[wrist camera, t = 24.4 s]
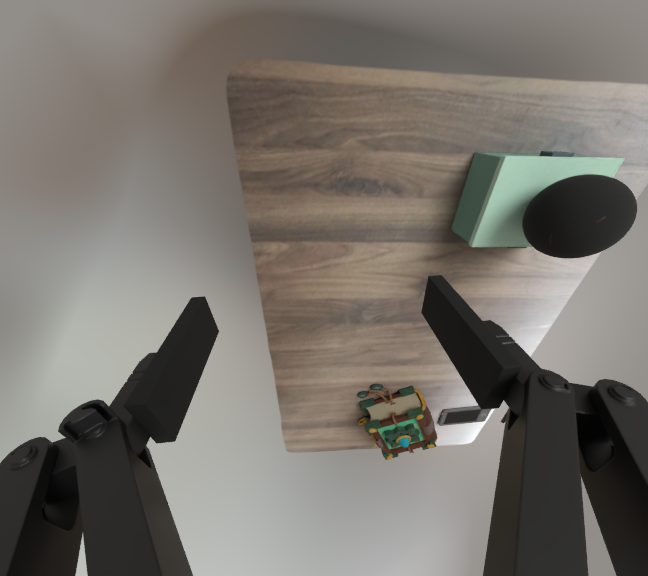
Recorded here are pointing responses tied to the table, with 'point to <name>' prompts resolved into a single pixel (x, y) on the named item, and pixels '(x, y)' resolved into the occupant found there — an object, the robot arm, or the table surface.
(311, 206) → the table surface
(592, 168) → the box
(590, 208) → the speaker
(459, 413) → the smartphone
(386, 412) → the book
